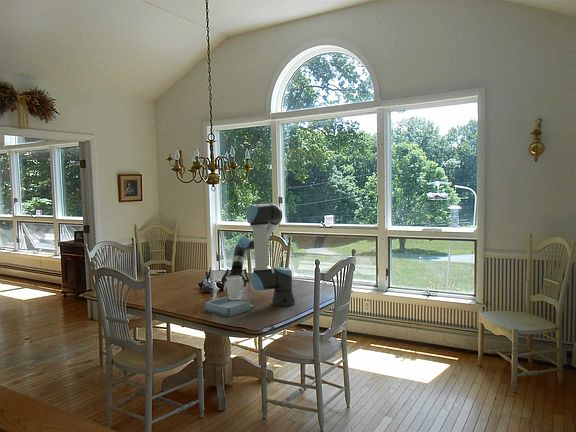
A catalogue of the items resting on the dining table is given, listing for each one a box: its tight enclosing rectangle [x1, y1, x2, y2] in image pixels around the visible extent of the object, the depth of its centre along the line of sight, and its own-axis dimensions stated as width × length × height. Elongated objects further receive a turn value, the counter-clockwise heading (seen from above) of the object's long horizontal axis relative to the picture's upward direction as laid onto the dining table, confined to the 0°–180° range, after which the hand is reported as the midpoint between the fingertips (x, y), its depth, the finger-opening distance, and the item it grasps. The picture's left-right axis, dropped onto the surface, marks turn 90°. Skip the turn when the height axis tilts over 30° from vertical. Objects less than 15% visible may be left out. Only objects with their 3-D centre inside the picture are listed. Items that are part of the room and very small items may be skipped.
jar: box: [226, 275, 243, 301], centre depth 295 cm, size 11×10×15 cm
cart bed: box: [203, 296, 255, 318], centre depth 271 cm, size 22×23×5 cm
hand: (233, 290), depth 293 cm, fingers open, 12 cm apart
